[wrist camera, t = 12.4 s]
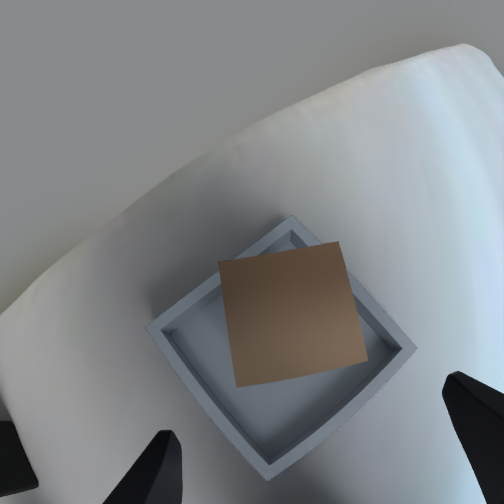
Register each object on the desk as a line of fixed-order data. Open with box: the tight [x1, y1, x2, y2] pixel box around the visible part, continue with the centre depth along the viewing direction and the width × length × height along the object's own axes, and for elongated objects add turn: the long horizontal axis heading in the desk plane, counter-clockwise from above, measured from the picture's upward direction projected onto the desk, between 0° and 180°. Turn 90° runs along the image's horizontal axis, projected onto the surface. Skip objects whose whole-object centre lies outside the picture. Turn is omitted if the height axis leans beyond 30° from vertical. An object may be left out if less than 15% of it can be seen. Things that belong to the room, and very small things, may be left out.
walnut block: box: [218, 242, 368, 388], centre depth 15 cm, size 4×4×11 cm
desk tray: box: [145, 215, 417, 481], centre depth 19 cm, size 13×13×2 cm
